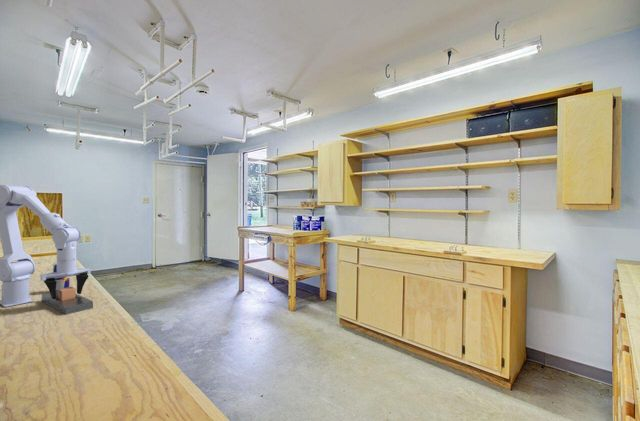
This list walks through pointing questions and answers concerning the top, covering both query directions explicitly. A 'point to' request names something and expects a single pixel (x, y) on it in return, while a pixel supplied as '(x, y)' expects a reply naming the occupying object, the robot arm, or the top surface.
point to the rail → (68, 303)
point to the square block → (66, 293)
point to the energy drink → (60, 280)
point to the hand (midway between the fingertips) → (66, 295)
